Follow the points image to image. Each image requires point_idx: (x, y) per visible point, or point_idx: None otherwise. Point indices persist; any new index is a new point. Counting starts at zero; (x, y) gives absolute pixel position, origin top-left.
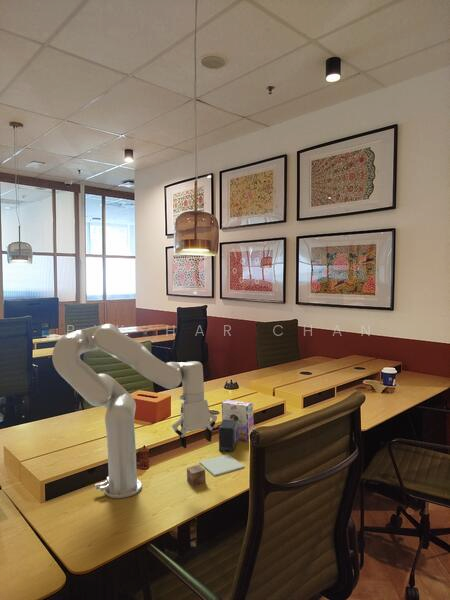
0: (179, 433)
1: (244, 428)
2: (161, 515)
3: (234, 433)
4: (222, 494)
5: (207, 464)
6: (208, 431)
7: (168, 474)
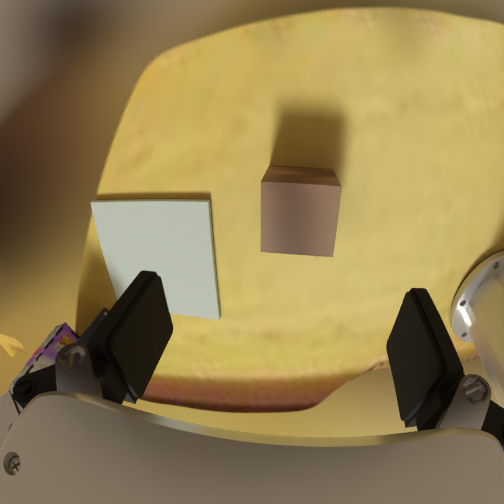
0: (495, 418)
1: (53, 353)
2: (497, 82)
3: None
4: (248, 45)
5: (200, 287)
6: (112, 349)
7: (354, 309)
